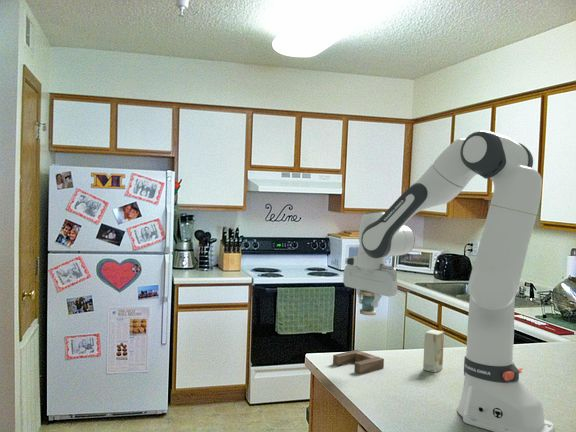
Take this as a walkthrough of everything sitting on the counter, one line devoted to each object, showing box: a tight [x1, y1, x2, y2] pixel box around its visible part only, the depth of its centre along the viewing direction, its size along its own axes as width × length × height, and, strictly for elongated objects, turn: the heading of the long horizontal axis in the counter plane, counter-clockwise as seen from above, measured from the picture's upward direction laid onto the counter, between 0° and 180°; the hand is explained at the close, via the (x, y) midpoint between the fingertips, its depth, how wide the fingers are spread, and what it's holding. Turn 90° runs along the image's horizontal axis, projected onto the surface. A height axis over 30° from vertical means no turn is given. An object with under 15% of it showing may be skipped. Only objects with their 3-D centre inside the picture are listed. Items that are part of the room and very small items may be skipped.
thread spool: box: [359, 290, 377, 316], centre depth 168 cm, size 5×5×7 cm
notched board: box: [332, 349, 385, 375], centre depth 171 cm, size 12×11×3 cm
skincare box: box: [422, 329, 445, 373], centre depth 170 cm, size 6×4×12 cm
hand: (368, 305), depth 168 cm, fingers closed on thread spool, 4 cm apart
